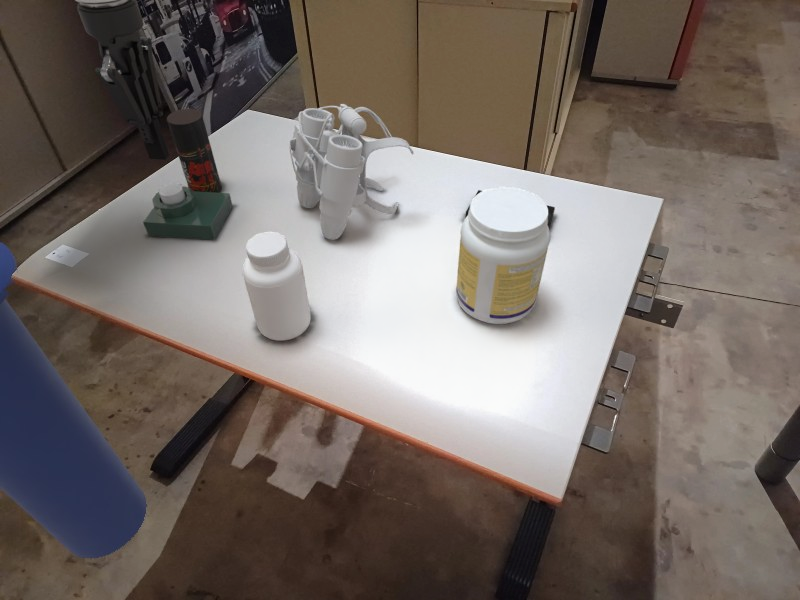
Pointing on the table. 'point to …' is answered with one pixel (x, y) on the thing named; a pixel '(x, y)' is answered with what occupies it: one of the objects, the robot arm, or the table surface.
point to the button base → (189, 215)
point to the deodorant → (194, 150)
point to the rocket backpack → (336, 164)
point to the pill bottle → (276, 287)
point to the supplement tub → (502, 254)
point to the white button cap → (172, 193)
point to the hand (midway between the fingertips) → (159, 156)
